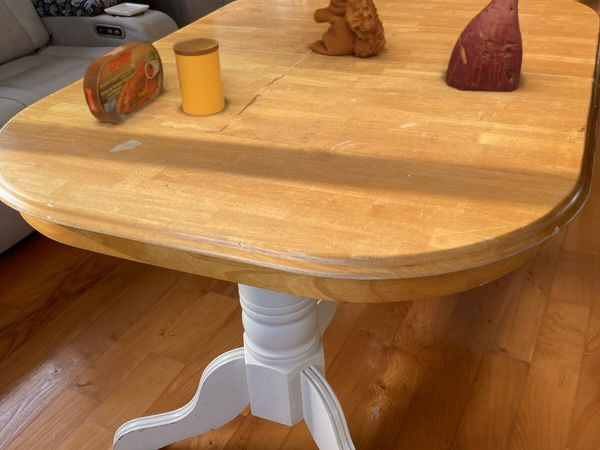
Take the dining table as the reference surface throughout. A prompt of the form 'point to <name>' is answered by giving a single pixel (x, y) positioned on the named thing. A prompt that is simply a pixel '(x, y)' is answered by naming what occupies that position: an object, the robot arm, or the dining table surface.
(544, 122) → the dining table surface
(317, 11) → the stuffed squirrel
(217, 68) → the yellow canister
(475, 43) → the vegetable
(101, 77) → the tin
